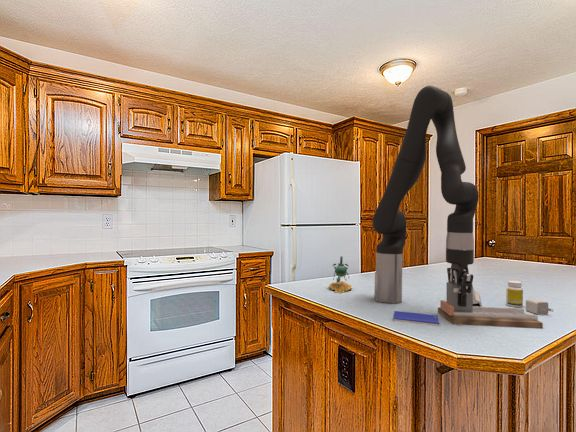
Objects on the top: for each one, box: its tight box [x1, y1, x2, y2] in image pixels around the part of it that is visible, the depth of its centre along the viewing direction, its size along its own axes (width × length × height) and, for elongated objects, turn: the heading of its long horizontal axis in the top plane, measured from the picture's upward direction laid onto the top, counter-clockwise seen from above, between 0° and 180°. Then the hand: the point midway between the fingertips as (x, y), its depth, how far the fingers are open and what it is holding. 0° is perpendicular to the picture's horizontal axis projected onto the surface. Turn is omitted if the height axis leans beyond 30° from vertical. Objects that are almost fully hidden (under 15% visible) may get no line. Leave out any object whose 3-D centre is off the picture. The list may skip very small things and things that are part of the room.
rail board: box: [437, 299, 544, 329], centre depth 100 cm, size 24×12×4 cm, turn 84°
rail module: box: [446, 281, 474, 312], centre depth 101 cm, size 6×4×9 cm
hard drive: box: [392, 310, 441, 327], centre depth 99 cm, size 2×8×12 cm
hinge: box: [473, 287, 483, 307], centre depth 124 cm, size 17×5×10 cm, turn 152°
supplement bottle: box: [505, 280, 524, 308], centre depth 117 cm, size 5×5×8 cm
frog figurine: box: [328, 256, 353, 294], centre depth 140 cm, size 10×18×15 cm, turn 164°
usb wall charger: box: [525, 298, 554, 316], centre depth 108 cm, size 4×7×4 cm, turn 8°
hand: (459, 304), depth 101 cm, fingers closed on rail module, 4 cm apart
